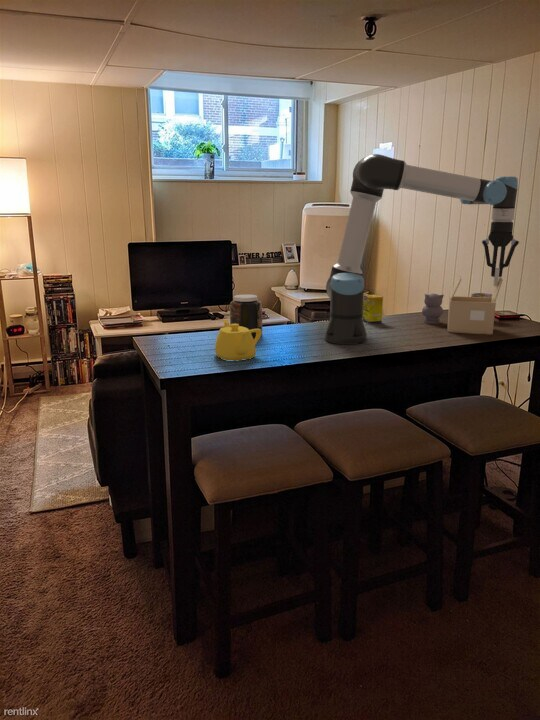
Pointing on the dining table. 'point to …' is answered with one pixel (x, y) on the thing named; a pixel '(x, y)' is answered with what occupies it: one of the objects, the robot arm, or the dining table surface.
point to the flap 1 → (455, 287)
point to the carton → (471, 315)
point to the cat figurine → (432, 308)
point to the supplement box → (372, 308)
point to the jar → (246, 312)
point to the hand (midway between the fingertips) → (495, 285)
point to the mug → (481, 295)
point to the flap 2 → (497, 289)
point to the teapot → (236, 342)
